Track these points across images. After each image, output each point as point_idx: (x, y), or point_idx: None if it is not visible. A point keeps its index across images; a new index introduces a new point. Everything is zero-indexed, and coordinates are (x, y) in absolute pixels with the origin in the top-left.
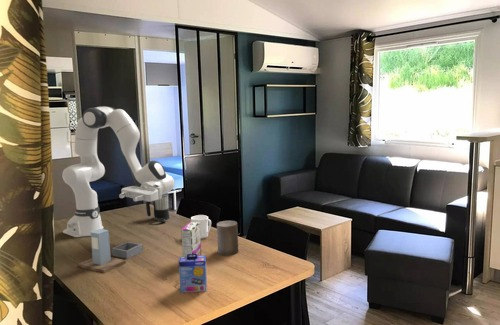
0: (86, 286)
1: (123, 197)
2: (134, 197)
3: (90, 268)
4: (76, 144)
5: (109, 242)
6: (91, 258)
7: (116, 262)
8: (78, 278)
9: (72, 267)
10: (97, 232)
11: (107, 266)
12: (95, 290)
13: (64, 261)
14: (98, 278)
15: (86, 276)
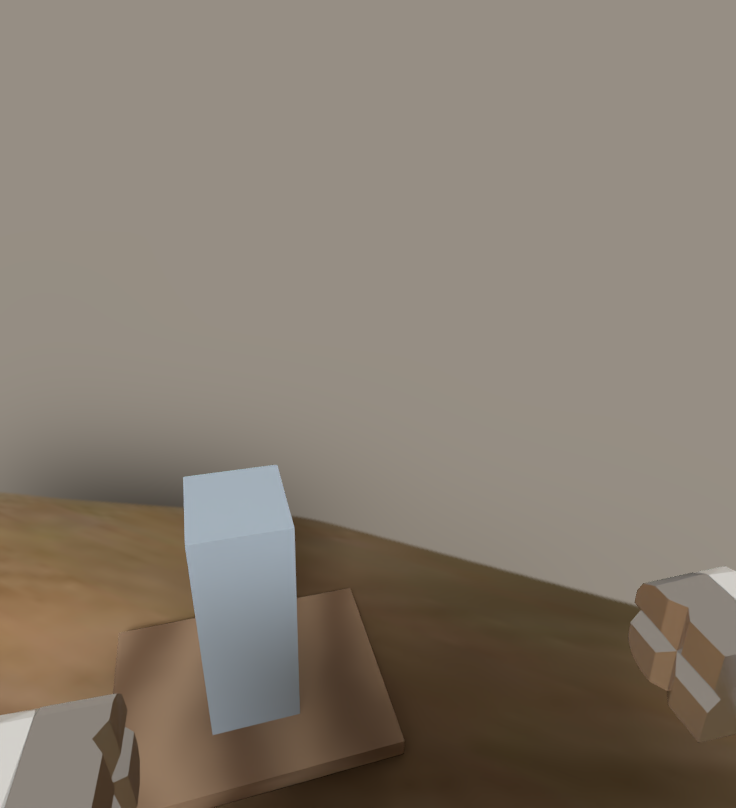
0: (84, 537)
1: (675, 704)
2: (62, 715)
3: None
4: None
5: (197, 630)
6: (378, 667)
7: (142, 745)
8: None
9: (364, 579)
10: (221, 483)
11: (147, 670)
12: (5, 542)
13: (491, 585)
14: (97, 598)
15: (183, 575)
